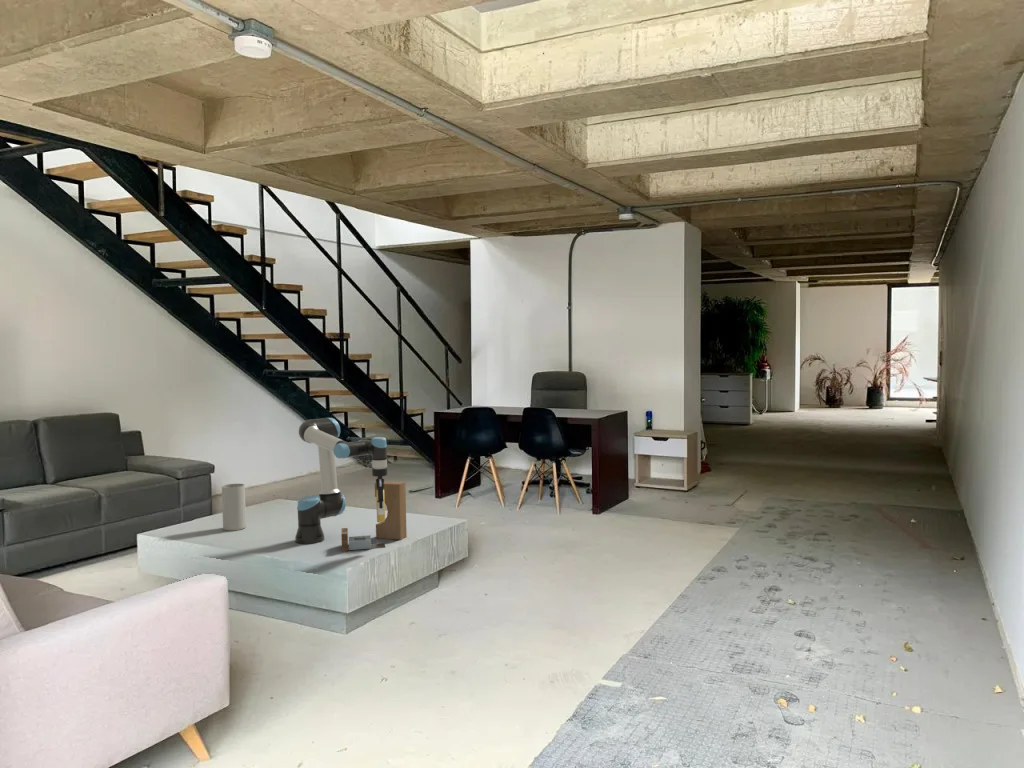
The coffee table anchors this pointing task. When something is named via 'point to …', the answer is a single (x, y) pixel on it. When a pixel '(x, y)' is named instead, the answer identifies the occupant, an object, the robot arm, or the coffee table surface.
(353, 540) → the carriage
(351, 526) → the coffee table surface
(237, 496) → the cylinder vase
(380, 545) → the dark grey flat board
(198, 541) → the coffee table surface
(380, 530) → the decorative block
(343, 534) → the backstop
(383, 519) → the dowel
